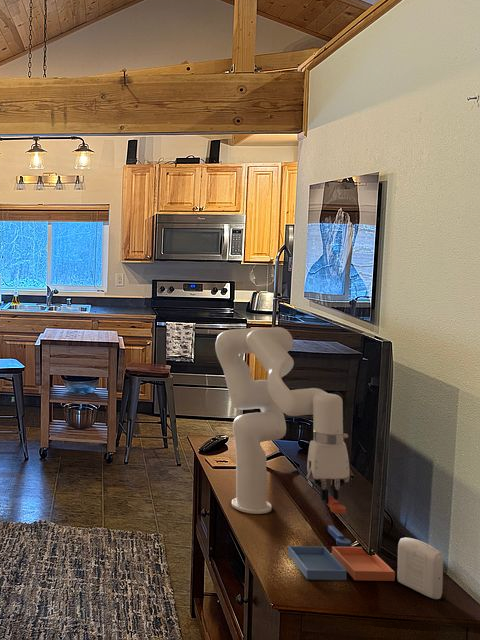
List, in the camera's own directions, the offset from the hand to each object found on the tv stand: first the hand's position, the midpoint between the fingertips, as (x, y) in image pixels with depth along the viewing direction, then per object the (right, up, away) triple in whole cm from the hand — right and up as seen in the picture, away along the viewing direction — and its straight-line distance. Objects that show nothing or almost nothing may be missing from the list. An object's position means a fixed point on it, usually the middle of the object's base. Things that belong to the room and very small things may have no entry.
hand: (329, 501), depth 184 cm
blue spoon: (+7, -14, +8) cm, 18 cm away
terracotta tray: (+5, -15, -8) cm, 18 cm away
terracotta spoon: (0, -1, -2) cm, 2 cm away
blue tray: (-7, -15, -7) cm, 19 cm away
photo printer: (+13, -16, -20) cm, 28 cm away
